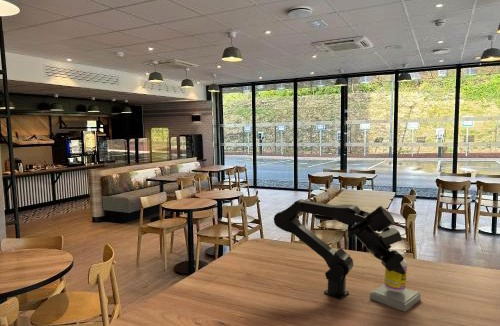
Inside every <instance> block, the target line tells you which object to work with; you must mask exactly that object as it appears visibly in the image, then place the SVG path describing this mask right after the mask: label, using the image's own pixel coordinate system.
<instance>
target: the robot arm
mask: <svg viewBox="0 0 500 326" xmlns="http://www.w3.org/2000/svg"><path fill="white" fill-rule="evenodd" d="M301 213H305V214H306V213H307V214H311V215H315V216H316V215H317V216H321V217H322V216H323V217H327V218H330V219H333V220H335V221H337V222H339V223H342V224H345V225H347V238H351V237H352V236H354V237H356V238H357V240H359V241H360V242H361V243H362V245H363V246H365V247H366V250H367V251H368V252H369V253H370V254H371V255H372V256H374V257H375V258H376V259H378V260H380V262H381V265H382V266H383V267H384V268H385V269H387V270H388V271H394V272H397V273H400V274H402V275H404V274H405V273H406V274H407V272H405V271H404V269H403V267H402V265H401V263H400V262H402V261H403V259H404V260H405V257H404V258H403V257H402V256H401V254H399V253H398V252H397V251H396V250H397V249H391V248H392V245H393V244H395V243H399V242H401V241H403V238H402V236H401V233H400V230H398V229H397V228H395V227H390V226H392V225H395V223H396V221H395V219H394V217H393V215H392V214H391V212H390V211H388V210H387V209H386V208H384V207H383V206H382V205H380V206H378V207H377V208H376V209H375V210H373V211H372V212H369V211H366V210H362V209H360V207H359V206H358V205H356V204H339V205H335V204H327V203H321V202H316V201H311V200H305V199H303V198H301V199H298V200H295V201H294V202H293V203H292V204H291V205H289V207H287V208H285V209H283V210H282V211H279V212H277V213H276V214H275V215H274V216H273V223H274V226H276V227H278V228H279V229H281V230H282V231H284V232H287V233H291V234H292V235H294V236H295V237H296V238H297V239H299V240H300V241H301V242H302V243H304V244H305V245H306V246H307V247H308V248H310V249H311V250H312V251H313V252H315V253H316V254H318V256H320V257H321V258H322V259H323V260H324V261H325V263H326V265H327V267H328V269H327V271H326V272H325V273H324V274H325V278H326V280H327V289H325V290H323V293H324V294H325V295H329V296H331V297H333V298H336V299H338V300H340V299H342V298H344V297H346V296H348V295H349V294H350V291H348V290H346V287H347V286H346V285H347V283H346V282H347V278H346V277H347V275H348V274H349V273H350V271H351V270H352V269H353V267H354V260H353V258H352V257H351V254H350V253H348V252H346V251H345V250H344V249H343V248H341V247H339V248H338V249H334V248H332V247H331V246H330V245H328V244H327V243H326V242H324V241H323V240H322V239H321V238H320V237H318V236H317V235H316V234H314V232H313V231H311V230H310V229H308V228H307V227H306V226H305V225H303V224H302V223H301V221H300V219H299V217H298V215H300V214H301ZM390 250H391V251H390Z"/></svg>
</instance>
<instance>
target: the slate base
mask: <svg viewBox="0 0 500 326" xmlns="http://www.w3.org/2000/svg"><path fill="white" fill-rule="evenodd" d="M421 295H422V293H421V292H419V291H418V292H417V291H416V290H412V289H410V288H406V287H405V290H404V291H403V292H393V291H390V290H388V289H387V288H386V287H385V283H383V284H382V285H380V286H378V287H377V288H374V289H373V290H371V291H370V293H369V300H373V301H374V302H378V303H381V304H384V305H386V306H388V307H392V308H394V309H397V310H400V311H401V312H407V311H408V310H409V309H411V308H412V307H413V306H414V305H416V304H417V303H418V302H419V301H420V300H421Z"/></svg>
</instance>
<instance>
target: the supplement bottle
mask: <svg viewBox="0 0 500 326" xmlns="http://www.w3.org/2000/svg"><path fill="white" fill-rule="evenodd" d="M391 250H392V249H389V251H391ZM395 250H396V251H397V252H398V253H399V254H401V256H402V257H403V258H404V259H403V261H402V262H400V263H401V265H402V267H403V269H404V271H405V272H406V273H405V274H404V275H402V274H400V273H397V272H394V271H388V270H387V269H386V268H385V272H384V284H385V287H386V288H387V289H388V290H390V291H393V292H403V291H404V290H405V288H406V286H407V285H406V284H407V283H406V282H407V272H408V271H407V270H408V269H407V268H408V262H407V260H406V259H405V254H406V253H405V252H404V250H401V249H395Z"/></svg>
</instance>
